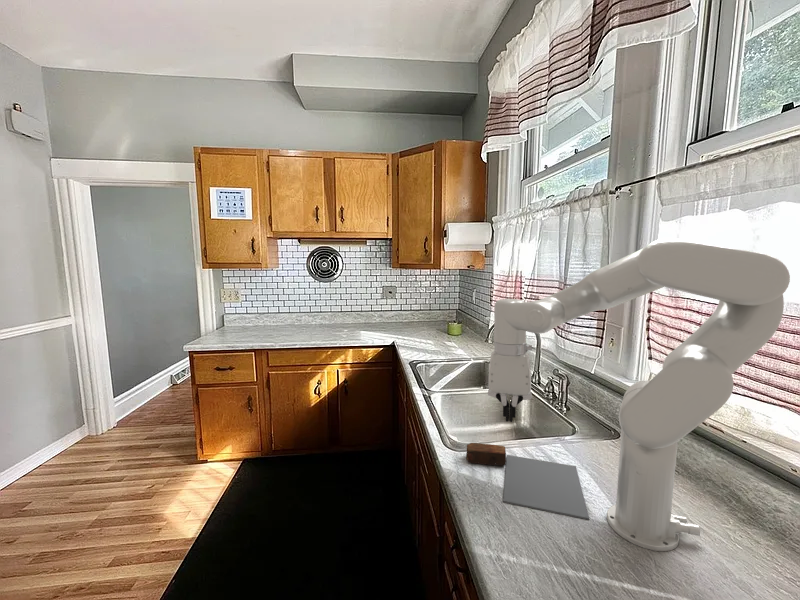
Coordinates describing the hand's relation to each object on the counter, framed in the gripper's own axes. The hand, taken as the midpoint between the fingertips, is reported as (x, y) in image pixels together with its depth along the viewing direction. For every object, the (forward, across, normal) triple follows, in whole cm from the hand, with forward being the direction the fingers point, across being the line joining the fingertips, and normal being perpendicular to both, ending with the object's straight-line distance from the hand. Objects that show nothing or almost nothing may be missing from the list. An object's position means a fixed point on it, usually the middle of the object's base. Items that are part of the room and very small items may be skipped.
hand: (509, 419), depth 91 cm
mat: (+16, -8, -1) cm, 18 cm away
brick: (+12, +8, -3) cm, 14 cm away
